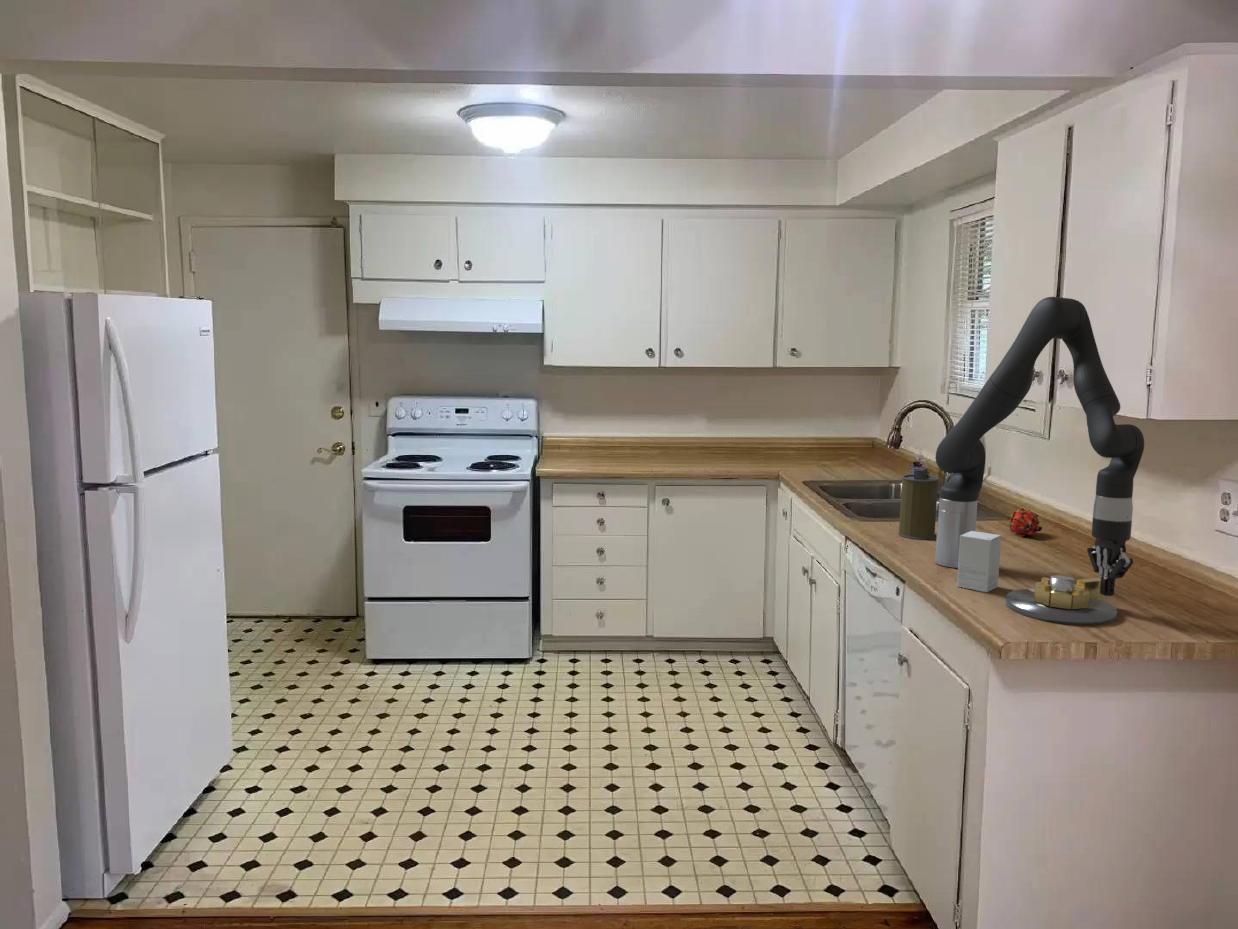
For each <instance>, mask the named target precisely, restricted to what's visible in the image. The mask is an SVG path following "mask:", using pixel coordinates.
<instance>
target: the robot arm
mask: <svg viewBox="0 0 1238 929" xmlns="http://www.w3.org/2000/svg"><path fill="white" fill-rule="evenodd" d="M1053 339H1056V340H1057V339H1059V340H1062V341H1063V343H1064V344H1065V346H1066V348H1067V349H1068V351H1069V352H1070V355H1071V359H1072V363H1073V373H1072V375H1073V379H1072V381H1073V388H1074V392H1075V394H1076V396H1077V399H1078V401H1079V403H1080V406H1081V407H1082V409H1083V412H1084V413H1085V417H1086V418H1085V419H1086V425H1087V433H1088V438H1089V442H1090V445H1091V447H1092V449H1093V450H1094V451H1095V453H1096V454H1097V455H1098V456H1101V457H1102V458H1106V459H1107V458H1109V459H1110V461H1109V464H1108V465H1107V466H1106V467H1103V468H1101V469H1100V470H1099V471H1098V472H1097V475H1096V484H1095V498H1094V501H1093V509H1092V511H1093V512H1092V523H1091V536H1092V537H1093V538H1094V539H1095V540H1094V545H1093V546H1091V547H1087V549H1086V551H1087V555H1088V557H1089V560H1090V562H1091V565H1092V568H1093V572H1094V573H1097V574H1098V578H1100V579H1101V583H1100V593H1101V594H1102V595H1104V597H1112V596H1114V594H1115V585H1116V584H1115V583H1116V580H1117V579H1123V577H1124V576H1125V575H1126V573H1127V572H1128V571H1129V569H1131V567H1132V565H1133V564H1134V560H1133V558H1129V557H1128V555H1127V547H1126V542H1128V541H1130V540H1131V537H1132V525H1133V510H1134V509H1133V508H1134V506H1133V504H1134V503H1133V497H1134V496H1133V495H1134V494H1133V492H1134V479H1135V476H1136V473H1137V470H1139V466H1140V462H1141V460H1142V457H1143V453H1144V449H1145V437H1144V434H1143V432H1142V431H1141V429H1140V428H1139V427H1138V426H1136V425H1133V424H1129V423H1128V424H1124V423H1123V424H1116V422H1115V420H1114V416H1116V415H1118V413H1119V412H1120V410H1121V402H1120V400H1119V397H1118V396H1117V394H1116V392H1115V390H1114V388H1113V385H1112V383H1111V382H1110V379H1109V377H1108V374H1107V373H1106V370H1105V368H1104V364H1103V363H1102V359H1101V356H1100V353H1099V349H1098V345H1097V342H1096V338H1095V336H1094V330H1093V327H1092V324H1091V320H1090V317H1089V313H1088V311H1087V309H1086V307H1085V305H1084V304H1083V303H1082V302H1081V301H1079V300H1077V299H1074V298H1070V297H1069V298H1068V297H1060V296H1059V297H1058V296H1047V297H1043V298H1042V299H1041V300H1039V301H1038V302H1037V303H1036V304H1035V305H1034V306H1033V308H1032V309H1031V311H1030V313H1029V314H1028V316H1027V318H1026V320H1025V321H1024V324H1023V325H1022V327H1021V328H1020V331H1019V333H1018V334H1017V336H1016V338H1015V339H1014V341H1013V343H1012V344H1011V346H1010V347H1009V349H1008V350H1007V352H1006V353H1005V355H1004V357H1003V358H1002V360H1001V361H1000V363H999V364H998V365H997V367H996V368H995V370H994V371H993V372H992V373H991V375H990V376H989V377H988V378H987V381H986V382H985V384H984V385H982V388H981V389H980V391H979V393H978V394H977V395H976V397H975V398H974V399H973V401H972V402H971V404H970V405H969V406H968V408H967V410H966V411H965V412H964V414H963V415H962V416H961V418H960V419H958V422H957V423H955V425H954V426H953V427H952V428H951V429H950V431H949V432H948V433H947V434H946V435H945V436H944V437H943V439H942V440H941V441H940V443H939V444H938V446H937V448H936V451H935V462H936V465H937V468H939V470H940V471H942V472H944V473H948V474H951V477H950V478H949V479H948V481H947V482H945V483H944V484H943V485H942V486H941V487H940V488H939V498H938V499H939V500H938V501H939V503H938V513H937V514H938V517H937V527H936V528H937V529H936V538H935V539H936V541H935V553H934V555H935V556H934V560H935V561H934V562H935V564H937V565H939V566H942V567H949V568H953V569H954V568H955V569H958V562H959V547H960V535H963V534H965V533H967V532H970V531H976V530H977V529H976V528H977V513H978V501H979V500H978V499H979V494H980V492H981V491H982V487H983V483H984V475H985V468H986V455H987V454H986V449H985V446H984V443H983V442H982V441H981V438H983V437H984V435H985V434H987V433H988V432H989V431H990V430H992V429H993V428H994V427H996V426H998V425H999V424H1000V423H1002V422H1003V421H1004V420H1005V419H1007V418H1008V417H1009V416H1011V414H1013V413H1014V412H1015V411H1016V409H1017V408H1018V407H1019V406H1020V405H1021V403H1022V401H1023V400H1024V399H1025V397H1026V396H1027V394H1028V393H1029V392H1030V389H1031V387H1032V383H1033V380H1034V379H1033V378H1034V371H1035V365H1036V361H1037V359H1038V357H1040V355H1041V353H1042V351H1043V350H1044V349H1045V348H1046V346H1047V345H1049V343H1050V341H1051V340H1053Z"/></svg>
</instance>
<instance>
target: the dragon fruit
mask: <svg viewBox="0 0 1238 929" xmlns="http://www.w3.org/2000/svg"><path fill="white" fill-rule="evenodd" d="M1038 516H1039V515H1038V514H1037V513H1035V512H1032V511H1031V509H1025V508H1019V509H1017V510H1016V511H1014V512H1012V513H1011V514H1010V516H1009V517H1010V519H1009V523H1008V525H1009V531H1010V532H1011V533H1014V534H1015V535H1016V536H1017V537H1021V538H1024V537H1025V536H1026V535H1027V536H1030V537H1031V536H1034V535H1035V534H1036V533H1038V532H1041V531H1042V530H1043V527H1042V526H1039V525H1040V523H1041V522H1040V520H1039V518H1038Z"/></svg>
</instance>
